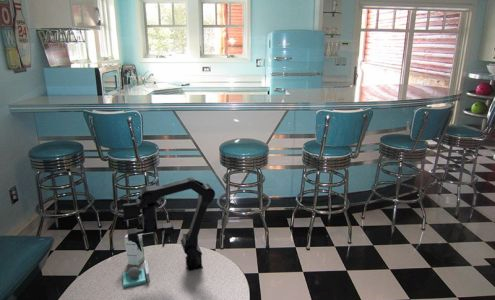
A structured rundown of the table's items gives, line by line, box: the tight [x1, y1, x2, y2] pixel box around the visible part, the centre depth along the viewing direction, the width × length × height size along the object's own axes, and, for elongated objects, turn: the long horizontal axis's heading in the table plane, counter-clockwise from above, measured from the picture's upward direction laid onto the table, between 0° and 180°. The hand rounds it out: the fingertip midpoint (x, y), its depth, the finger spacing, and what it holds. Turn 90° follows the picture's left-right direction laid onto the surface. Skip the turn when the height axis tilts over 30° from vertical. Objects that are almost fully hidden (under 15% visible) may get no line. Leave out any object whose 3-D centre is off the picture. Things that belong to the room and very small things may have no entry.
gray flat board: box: [143, 259, 151, 283], centre depth 153 cm, size 1×11×4 cm, turn 20°
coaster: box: [122, 267, 147, 288], centre depth 150 cm, size 9×9×1 cm
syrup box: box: [123, 233, 146, 266], centre depth 161 cm, size 6×6×14 cm
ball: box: [127, 266, 140, 279], centre depth 149 cm, size 5×5×5 cm
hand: (152, 249), depth 150 cm, fingers open, 9 cm apart
